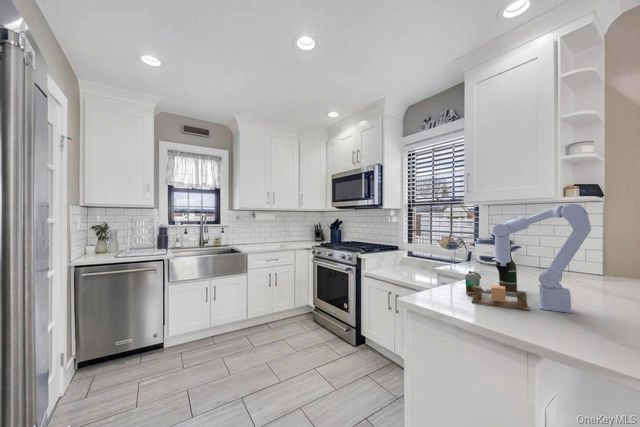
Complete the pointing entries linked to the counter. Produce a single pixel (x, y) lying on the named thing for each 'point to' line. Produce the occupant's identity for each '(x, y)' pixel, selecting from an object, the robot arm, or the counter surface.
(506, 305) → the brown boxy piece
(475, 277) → the food container
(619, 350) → the counter surface
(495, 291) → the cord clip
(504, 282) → the beer bottle
